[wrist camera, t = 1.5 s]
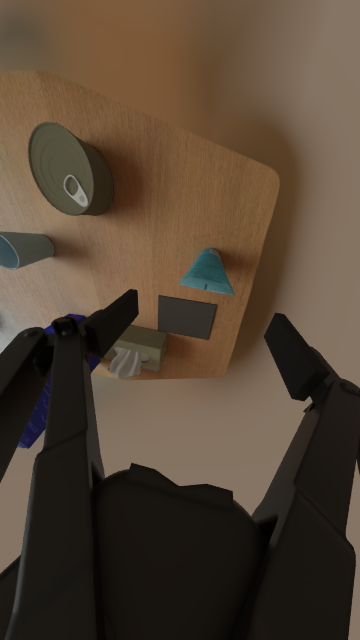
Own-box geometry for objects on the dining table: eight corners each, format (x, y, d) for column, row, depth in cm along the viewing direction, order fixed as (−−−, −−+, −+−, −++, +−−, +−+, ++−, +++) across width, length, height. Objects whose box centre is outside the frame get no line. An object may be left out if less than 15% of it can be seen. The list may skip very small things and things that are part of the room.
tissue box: (116, 343, 57) (86, 379, 44) (113, 320, 52) (79, 354, 38) (166, 354, 55) (151, 396, 42) (169, 333, 50) (153, 372, 37)
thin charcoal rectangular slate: (216, 304, 42) (216, 305, 42) (207, 339, 49) (207, 339, 48) (159, 295, 44) (158, 295, 43) (158, 329, 50) (157, 330, 50)
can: (78, 121, 28) (44, 95, 23) (125, 188, 32) (106, 180, 26) (51, 177, 34) (17, 167, 28) (94, 228, 38) (73, 229, 32)
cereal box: (68, 313, 54) (-59, 393, 29) (84, 315, 53) (-34, 399, 28) (87, 359, 65) (8, 444, 40) (100, 361, 64) (28, 449, 39)
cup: (53, 266, 45) (15, 276, 36) (28, 245, 43) (-19, 251, 34) (62, 246, 41) (21, 252, 33) (35, 222, 39) (-16, 221, 31)
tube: (192, 268, 38) (177, 301, 22) (194, 246, 36) (179, 265, 20) (223, 271, 37) (231, 308, 21) (228, 249, 35) (240, 272, 19)
